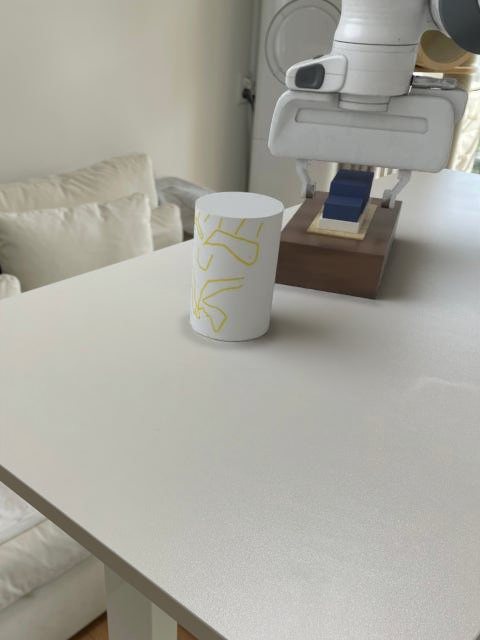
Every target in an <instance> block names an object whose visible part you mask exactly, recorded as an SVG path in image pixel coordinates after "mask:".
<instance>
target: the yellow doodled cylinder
mask: <svg viewBox="0 0 480 640" xmlns="http://www.w3.org/2000/svg"><path fill="white" fill-rule="evenodd" d="M284 211H285V205H284V204H283V202H281V201H280V200H279V199H277V198H274V197H273V196H272V197H271V196H268V195H265V194H260V193H256V192H255V193H254V192H247V191H246V192H245V191H222V192H221V191H220V192H212V193H208V194H205V195H202V196H200V197H198V198H197V199H196V200H195V204H194V222H193V223H194V224H193V225H194V226H193V243H192V245H193V246H192V265H191V270H192V271H191V285H190V287H191V288H190V293H191V294H190V307H189V308H190V309H189V325H190V326H191V328H192V329H193V330H194V331H195V332H196V333H198V334H200V335H202V336H204V337H206V338H210V339H212V340H218V341H222V342H245V341H251V340H254V339H257V338H259V337H262V336H263V335H265V334H266V333H267V332H268V331H269V329H270V321H271V314H272V307H273V299H274V290H275V284H276V283H275V275H276V268H277V260H278V252H279V244H280V236H281V231H282V227H283V220H284Z"/></svg>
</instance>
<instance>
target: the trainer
mask: <svg viewBox="0 0 480 640" xmlns="http://www.w3.org/2000/svg"><path fill="white" fill-rule="evenodd" d="M374 178H375V171H366V170H357V169H348V168H347V169H346V168H339V170H338V171H337V173H336V174H335V176H334V177H333V178H332V179H331V181H330V184H329V189H328V190H329V191H328V192H329V195H328V198H327V200H326V201H325V203H324V208H323V213H322V215H321V216H320V218H319V222H318V228H320V229H327V230H334V231H341V232H349V233H356V234H358V231H359V229H360V227H361V225H362V223H363V220H364V218H365V216H366V214H367V212H368V209H369V207H370V202H371V198H370V197H371V193H372V192H371V191H372V187H373V184H374V183H373V182H374Z"/></svg>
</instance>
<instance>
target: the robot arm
mask: <svg viewBox="0 0 480 640" xmlns="http://www.w3.org/2000/svg"><path fill="white" fill-rule="evenodd" d="M427 31H439V32H440V33H441V34H444V36H446V37H447V38H449V39H451V40H452V41H453V42H454V43H455V45H457V46H458V47H460V48H461V49H462V50H464V51H466V52H468V53H470V54H472V55H478V56H480V0H341V12H340V18H339V22H338V24H337V27H336V29H335V32H334V34H333V39H332V46H331V47H332V48H331V51H330V53H326V54H318V55H315V56H313V57H312V58H310V59H309V58H308V59H306V60H303V61H299V62H296V63H295V64H292V66H290V67H289V68H288V69H287V70H286V73H285V81H284V82H285V86H286V88H288V89H286V91H284V92H283V93H282V94H281V95H280V96H279V98H278V100H277V102H276V104H275V106H274V111H273V114H272V119H271V122H270V123H271V124H270V129H269V134H268V142H267V147H268V149H269V151H270V153H271V155H272V156H273V157H280V158H289V159H296V161H295V170H296V173H297V175H298V178H299V180H300V183H301V184H302V186H301V193H300V194H301V195H300V198H302V199H306V198H308V199H314V197H315V194H316V191H317V190H316V189H317V186H318V181H317V180H316V181H315V180H311V176H310V173H309V171H308V168H309V167H310V166H311V164H312V161H317V162H324V163H325V162H326V163H337V164H345V165H354V166H362V167H363V166H364V167H371V168H383V169H391V170H398V171H397V177H396V179H397V180H398V182H397V183H396V184H395V185H394V187H393V188H392V189H384V191H383V193H382V197H381V199H382V202H381V208H387V209H393V208H394V205H395V201H396V200H397V196H398V195H399V193H400V192H401V191H402V190H403V189H404V188H405V187H406V185H407V184H408V183H409V182H410V180H411V178H412V173H413V172H419V173H429V174H439V173H441V171H443V170H444V169H445V168H446V167H447V166H448V165H449V164H448V163H449V160H450V156H451V150H452V144H453V139H454V130H455V125H457V124H458V123H459V122H460V121H461V120H462V118H463V117H464V115H465V112H466V107H467V105H468V100H469V93H468V90H467V88H466V87H465V86H464V85H463V84H461V83H460V82H458V79H457V78H454V77H434V76H427V75H416V74H414V72H415V67H416V63H417V62H416V61H417V57H418V52H419V48H420V44H421V39H422V36H423V34H424V33H426V32H427ZM456 88H457V89H456ZM458 89H459V90H458Z"/></svg>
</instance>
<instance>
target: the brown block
mask: <svg viewBox="0 0 480 640" xmlns="http://www.w3.org/2000/svg"><path fill="white" fill-rule="evenodd" d="M328 195H329V191H324V190H323V191H322V190H316V194H315V197H314V199H308V198H305V199H304V201H303V202H302V203H301V205H300V206H299V207H298V209H297V210H296V211H295V213H294V214H293V215H292V217H291V218H290V219H289V221H288V222H287V223H286V224H285V226H284V227H283V229H281V236H280V244H279V252H278V260H277V268H276V275H275V283H274V284H280V285H281V284H282V285H287V286H293V287H299V288H306V289H312V290H317V291H323V292H330V293H335V294H342V295H347V296H354V297H359V298H365V299H366V298H367V299H370V300H371V299H372V300H376V297H377V294H378V291H379V287H380V285H381V281H382V278H383V276H384V272H385V269H386V265H387V263H388V260H389V259H388V258H389V256H390V253H391V250H392V246H393V243H394V240H395V237H396V232H397V228H398V224H399V219H400V214H401V210H402V205H403V200H398V199H396V201H395V205H394V208H393V209H387V208H381V202H382V197H381V198H380V197H371V196H370V198H371V202H370V207H369V209H368V212H367V214H366V216H365V218H364V220H363V223H362V225H361V227H360V229H359V231H358V234H356V233H349V232H341V231H334V230H327V229H320V228H318V222H319V218H320V216H321V215H322V213H323V208H324V203H325V201H326V200H327V198H328Z"/></svg>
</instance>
